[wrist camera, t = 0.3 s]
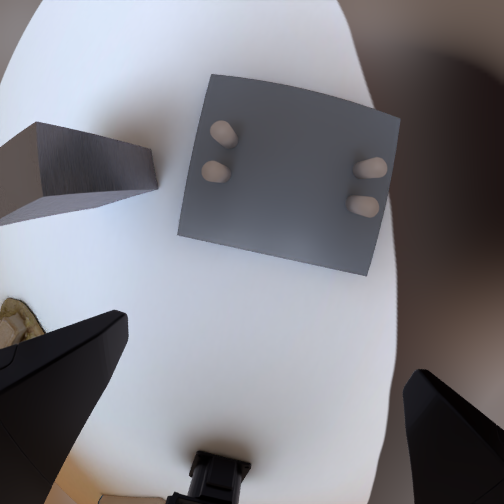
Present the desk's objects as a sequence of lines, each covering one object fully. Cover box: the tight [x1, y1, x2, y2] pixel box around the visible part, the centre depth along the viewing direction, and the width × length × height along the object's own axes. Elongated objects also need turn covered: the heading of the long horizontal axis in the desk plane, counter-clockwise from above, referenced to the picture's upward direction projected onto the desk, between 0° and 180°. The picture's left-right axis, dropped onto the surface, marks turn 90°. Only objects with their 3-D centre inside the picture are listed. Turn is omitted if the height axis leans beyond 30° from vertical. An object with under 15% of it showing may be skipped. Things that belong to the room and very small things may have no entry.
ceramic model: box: [0, 298, 45, 349], centre depth 21 cm, size 14×11×10 cm
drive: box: [0, 122, 158, 226], centre depth 15 cm, size 3×6×12 cm, turn 101°
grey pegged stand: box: [177, 74, 400, 276], centre depth 18 cm, size 12×14×5 cm
